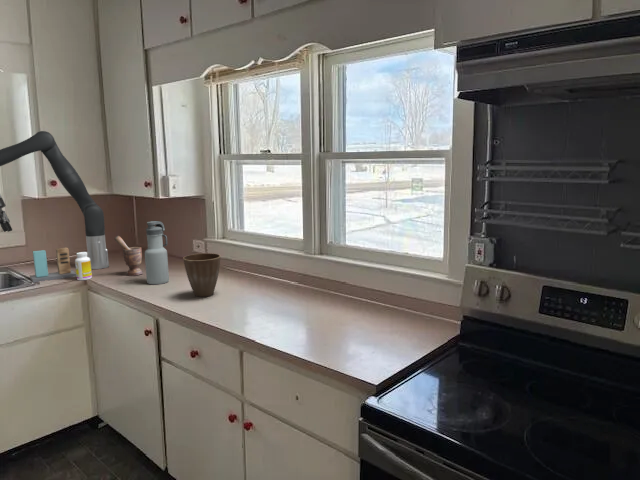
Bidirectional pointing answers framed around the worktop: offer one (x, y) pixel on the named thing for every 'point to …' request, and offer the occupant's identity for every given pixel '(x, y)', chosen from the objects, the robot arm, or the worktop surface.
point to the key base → (53, 276)
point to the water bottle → (156, 254)
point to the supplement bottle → (83, 266)
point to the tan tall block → (63, 260)
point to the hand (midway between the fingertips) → (8, 231)
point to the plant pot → (202, 272)
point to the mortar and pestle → (131, 257)
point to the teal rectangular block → (40, 263)
